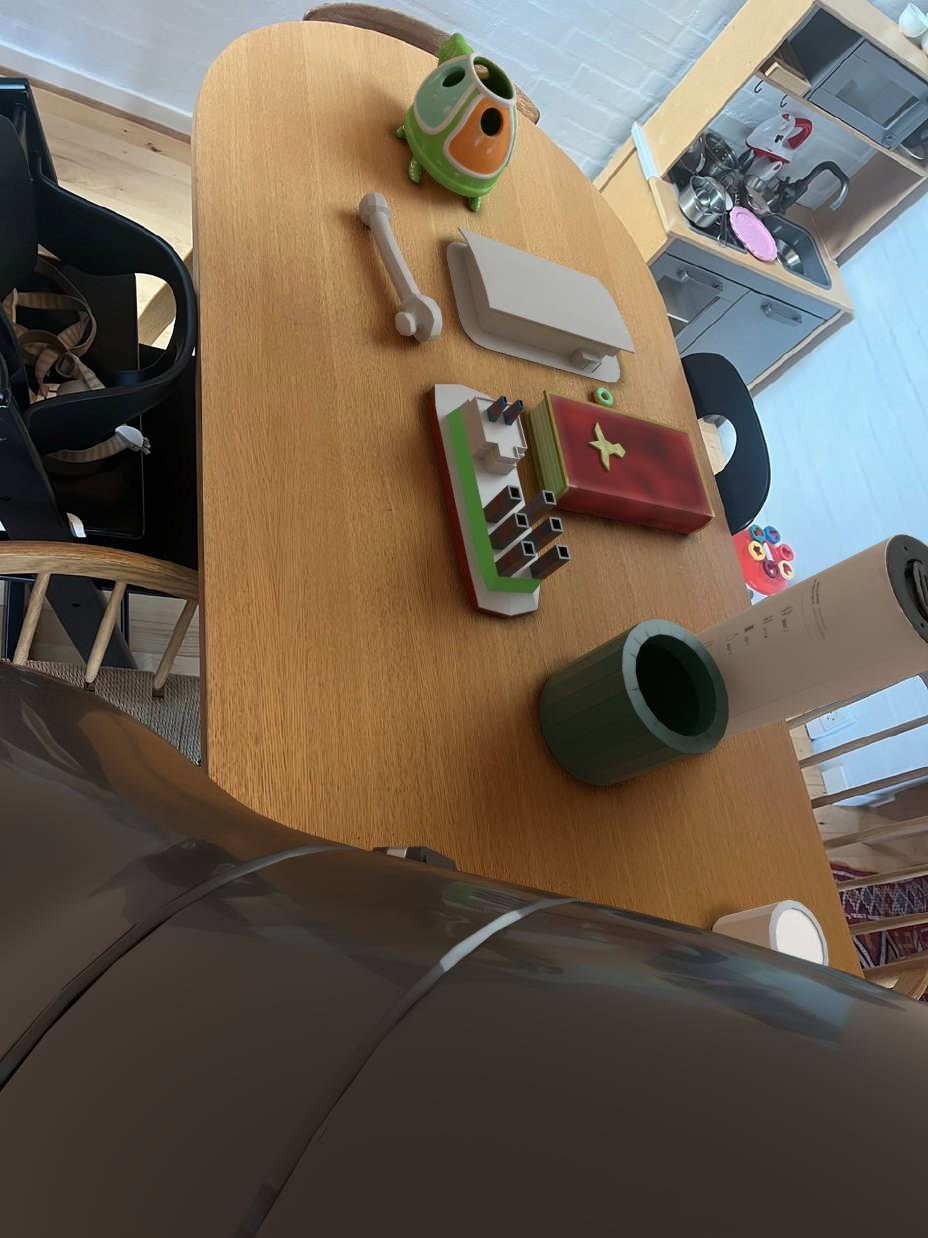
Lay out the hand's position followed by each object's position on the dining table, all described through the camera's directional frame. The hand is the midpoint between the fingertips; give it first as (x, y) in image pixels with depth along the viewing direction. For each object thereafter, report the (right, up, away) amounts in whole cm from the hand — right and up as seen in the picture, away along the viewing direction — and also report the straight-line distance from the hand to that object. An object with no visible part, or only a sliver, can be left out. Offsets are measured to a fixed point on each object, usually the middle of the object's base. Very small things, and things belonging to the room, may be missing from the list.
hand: (451, 1018), depth 41 cm
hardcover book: (+17, +37, +45) cm, 60 cm away
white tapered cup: (+24, -8, +27) cm, 37 cm away
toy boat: (+2, +32, +33) cm, 46 cm away
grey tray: (+9, +57, +50) cm, 76 cm away
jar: (+12, +12, +29) cm, 33 cm away
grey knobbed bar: (-7, +56, +39) cm, 69 cm away
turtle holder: (-3, +76, +52) cm, 93 cm away
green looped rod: (+20, +46, +51) cm, 72 cm away
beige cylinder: (+22, +13, +36) cm, 45 cm away
